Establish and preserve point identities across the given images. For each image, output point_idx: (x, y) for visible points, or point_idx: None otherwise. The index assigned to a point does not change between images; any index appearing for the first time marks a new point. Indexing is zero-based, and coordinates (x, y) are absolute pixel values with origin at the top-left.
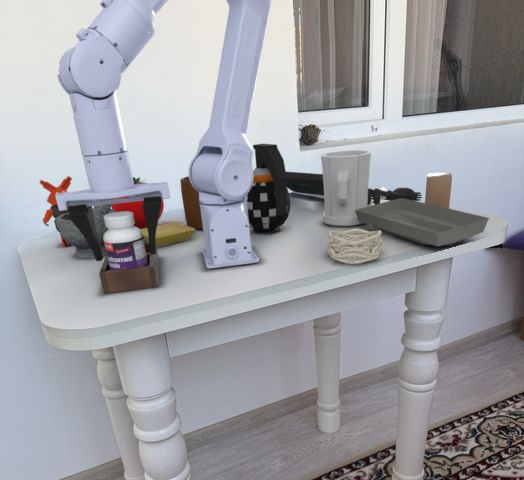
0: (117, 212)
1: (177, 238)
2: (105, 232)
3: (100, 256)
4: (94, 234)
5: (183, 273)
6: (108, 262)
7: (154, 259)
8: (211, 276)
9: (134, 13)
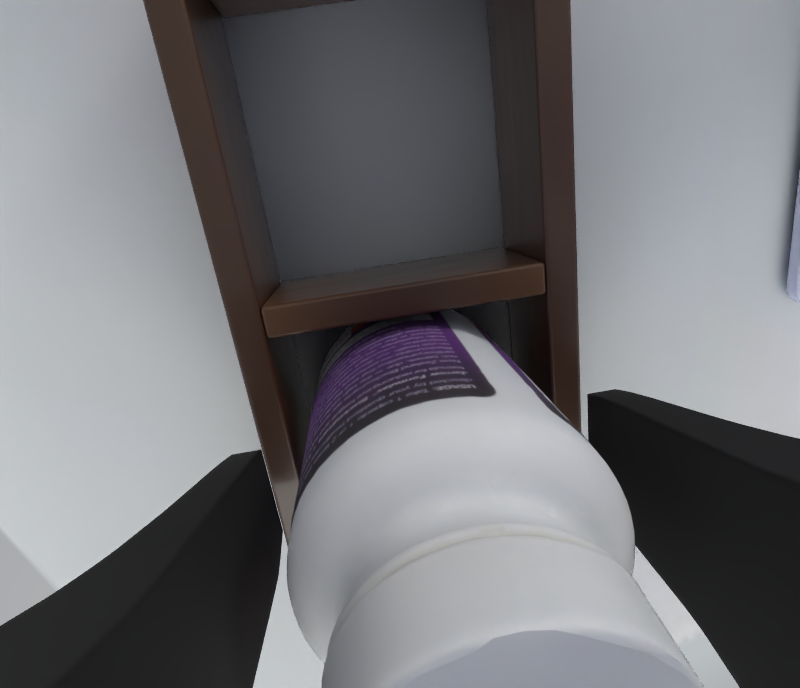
0: (489, 684)
1: None
2: (314, 624)
3: (279, 558)
4: (225, 682)
5: (658, 315)
6: (280, 387)
7: (580, 419)
8: (777, 390)
9: None
